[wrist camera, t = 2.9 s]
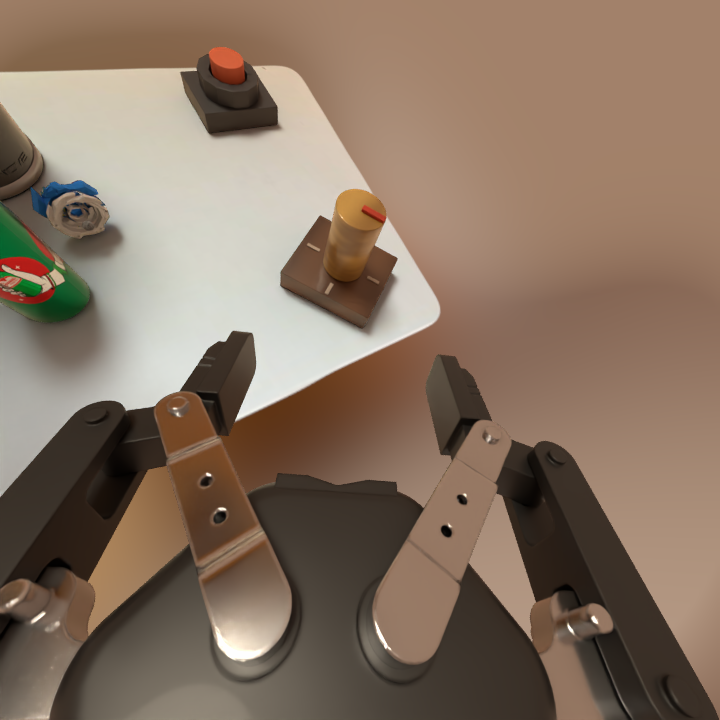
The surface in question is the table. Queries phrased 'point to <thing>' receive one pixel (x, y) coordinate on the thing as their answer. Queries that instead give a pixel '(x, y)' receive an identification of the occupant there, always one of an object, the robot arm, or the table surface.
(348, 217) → the lock knob
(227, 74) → the bell button
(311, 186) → the table surface
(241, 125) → the black button base
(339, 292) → the lock plate
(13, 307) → the soda can
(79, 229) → the toy
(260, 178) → the table surface
